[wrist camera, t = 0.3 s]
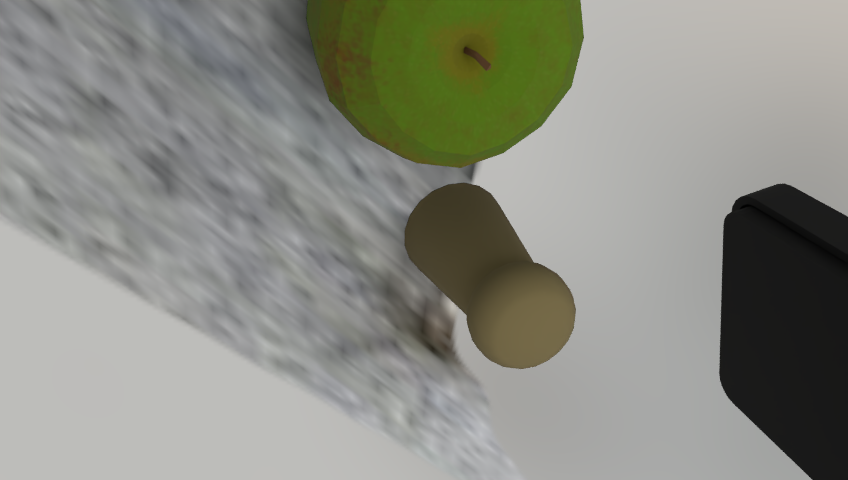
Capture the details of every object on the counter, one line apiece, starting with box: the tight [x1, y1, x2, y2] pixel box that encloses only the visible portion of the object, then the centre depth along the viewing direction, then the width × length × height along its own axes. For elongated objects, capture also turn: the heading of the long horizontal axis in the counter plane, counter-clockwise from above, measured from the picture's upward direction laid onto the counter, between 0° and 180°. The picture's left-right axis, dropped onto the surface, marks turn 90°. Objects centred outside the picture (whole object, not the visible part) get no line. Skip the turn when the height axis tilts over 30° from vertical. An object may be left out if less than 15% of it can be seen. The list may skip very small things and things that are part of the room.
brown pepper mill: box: [405, 183, 576, 369], centre depth 40 cm, size 6×6×11 cm
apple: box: [306, 0, 584, 168], centre depth 33 cm, size 11×11×11 cm
